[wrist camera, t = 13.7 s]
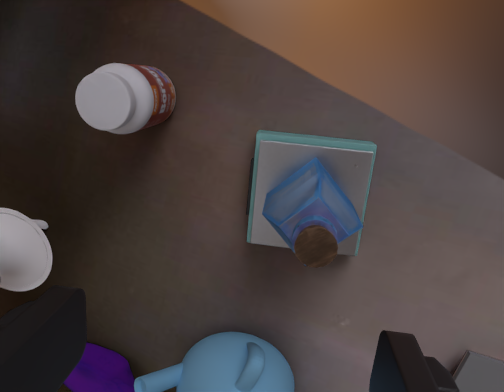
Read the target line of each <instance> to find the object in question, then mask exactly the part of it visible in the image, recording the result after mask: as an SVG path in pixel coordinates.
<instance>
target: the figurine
mask: <svg viewBox="0 0 504 392" xmlns="http://www.w3.org/2000/svg"><path fill="white" fill-rule="evenodd" d="M5 213H8V214H5ZM19 213H20V212H18V211H15V210H12V209H8V208H0V276H1V284H0V287H2V288H4V289H8V290H11V291H27V290H31V289H34V288H36V287H38V286H39V285H41V284H42V283H43V282H44V281H45V280H46V278H47V277H48V275H49V273H50V271H51V267H52V250H51V247H50V244H49V241H48V239H47V237H46V235H45V234H44V232H43V231H42V230H41V229H47V228H48V224H47V223H46V222H45V221H43V220H33V219H32V220H31V219H30V218H28V217H27V216H25V215H23V214H22V213H20V215H19ZM10 214H12V215H10ZM14 215H15V216H14ZM16 216H18V217H16ZM20 218H21V219H20ZM22 219H23V220H22ZM24 220H25V221H24ZM34 228H35V229H36V230H37V231H36V230H35V229H34ZM38 233H39V234H40V235H39V234H38ZM43 241H44V242H43ZM45 246H46V247H45ZM46 249H47V251H46ZM47 256H48V259H47ZM46 265H47V266H46ZM41 276H42V277H41ZM23 286H24V287H23Z"/></svg>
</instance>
